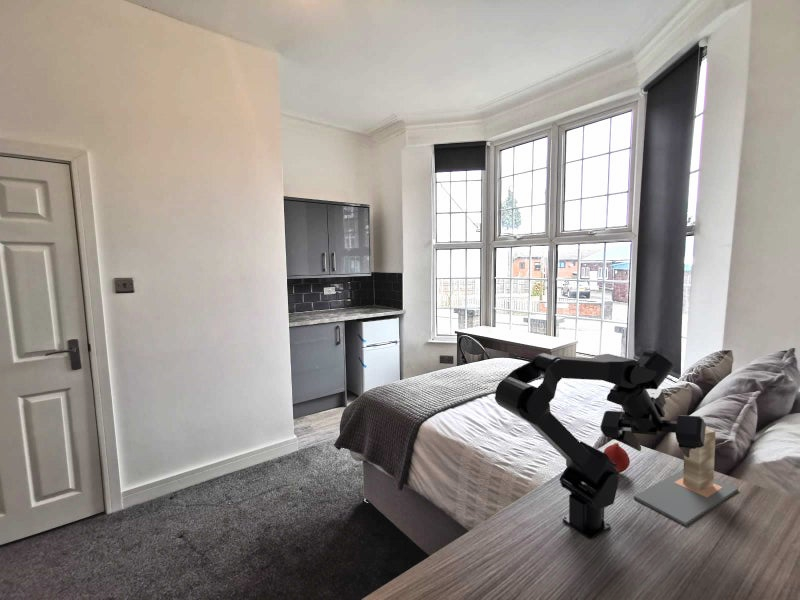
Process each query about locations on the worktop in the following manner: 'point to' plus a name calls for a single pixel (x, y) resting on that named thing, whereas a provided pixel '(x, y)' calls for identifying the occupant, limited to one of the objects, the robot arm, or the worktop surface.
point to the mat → (684, 498)
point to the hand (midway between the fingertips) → (663, 452)
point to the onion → (618, 457)
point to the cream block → (700, 464)
